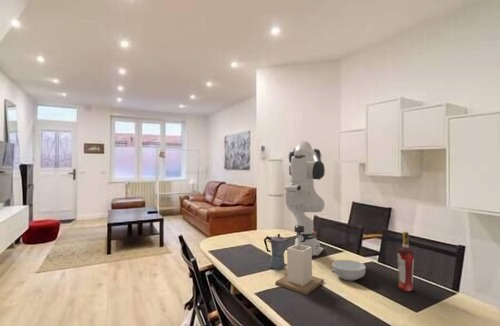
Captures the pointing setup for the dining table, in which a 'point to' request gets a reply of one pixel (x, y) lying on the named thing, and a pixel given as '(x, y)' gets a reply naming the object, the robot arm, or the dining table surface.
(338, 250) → the dining table surface
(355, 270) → the cereal bowl
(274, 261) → the moka pot
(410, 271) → the liquor
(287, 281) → the hollow square stand
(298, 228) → the dark-topped thin piece
